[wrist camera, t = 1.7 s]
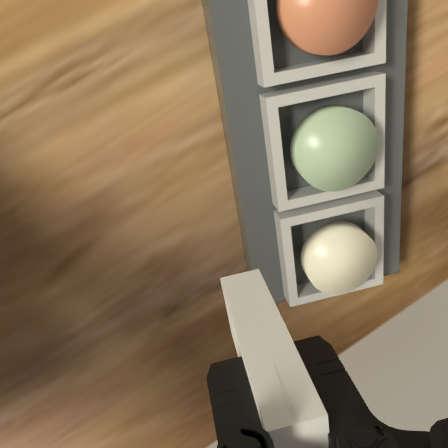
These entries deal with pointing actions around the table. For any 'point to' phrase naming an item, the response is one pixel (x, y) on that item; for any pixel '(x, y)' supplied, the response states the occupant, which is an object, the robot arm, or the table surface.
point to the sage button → (334, 147)
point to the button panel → (285, 126)
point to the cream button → (338, 257)
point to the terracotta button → (325, 23)
